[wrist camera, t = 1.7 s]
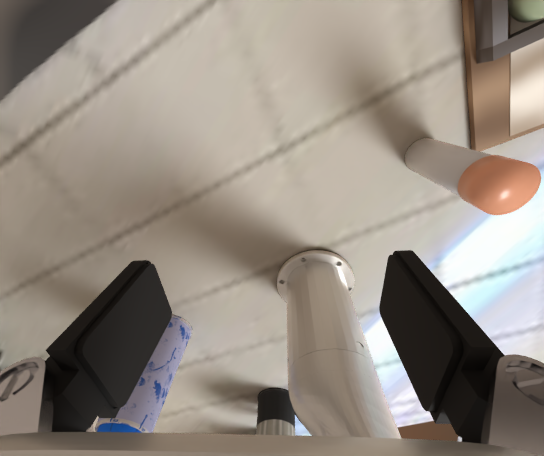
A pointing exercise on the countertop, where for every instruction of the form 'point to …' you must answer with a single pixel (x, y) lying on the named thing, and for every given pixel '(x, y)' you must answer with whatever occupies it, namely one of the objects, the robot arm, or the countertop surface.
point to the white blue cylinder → (152, 383)
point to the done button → (526, 10)
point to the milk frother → (275, 413)
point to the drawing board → (502, 73)
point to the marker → (475, 175)
